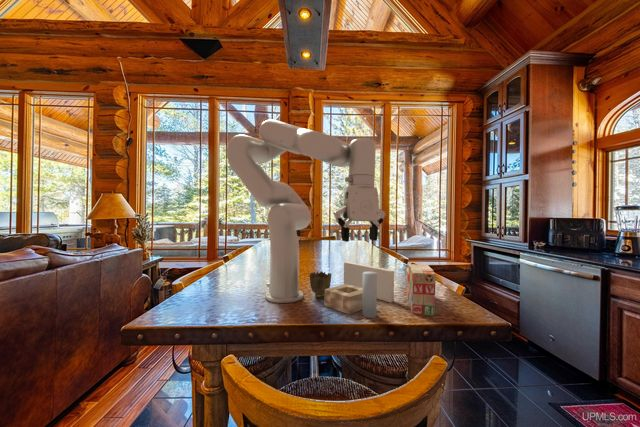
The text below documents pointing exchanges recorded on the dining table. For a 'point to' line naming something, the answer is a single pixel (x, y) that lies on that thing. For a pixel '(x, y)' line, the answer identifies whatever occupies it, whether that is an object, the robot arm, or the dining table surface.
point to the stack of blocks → (421, 289)
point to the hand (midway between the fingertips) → (359, 240)
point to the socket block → (344, 298)
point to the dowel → (369, 295)
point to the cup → (320, 283)
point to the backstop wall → (384, 279)
